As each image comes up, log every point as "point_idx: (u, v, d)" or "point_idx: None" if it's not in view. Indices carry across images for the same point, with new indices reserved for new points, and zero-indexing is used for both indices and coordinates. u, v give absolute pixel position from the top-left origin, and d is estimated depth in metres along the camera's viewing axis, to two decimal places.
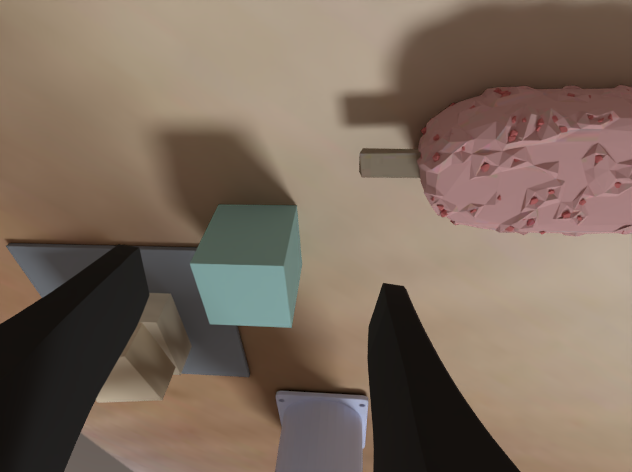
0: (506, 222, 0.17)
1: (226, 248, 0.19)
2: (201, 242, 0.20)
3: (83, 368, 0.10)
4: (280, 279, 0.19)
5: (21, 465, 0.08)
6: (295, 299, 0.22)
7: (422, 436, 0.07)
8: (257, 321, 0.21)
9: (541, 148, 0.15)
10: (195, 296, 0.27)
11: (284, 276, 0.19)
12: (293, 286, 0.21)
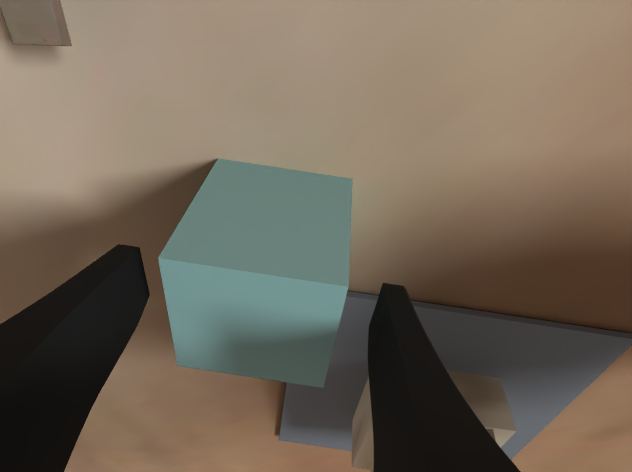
0: None
1: None
2: None
3: (83, 368, 0.10)
4: (195, 271, 0.09)
5: (21, 465, 0.08)
6: (341, 237, 0.11)
7: (422, 436, 0.07)
8: (321, 330, 0.10)
9: None
10: None
11: (188, 262, 0.09)
12: (295, 234, 0.10)
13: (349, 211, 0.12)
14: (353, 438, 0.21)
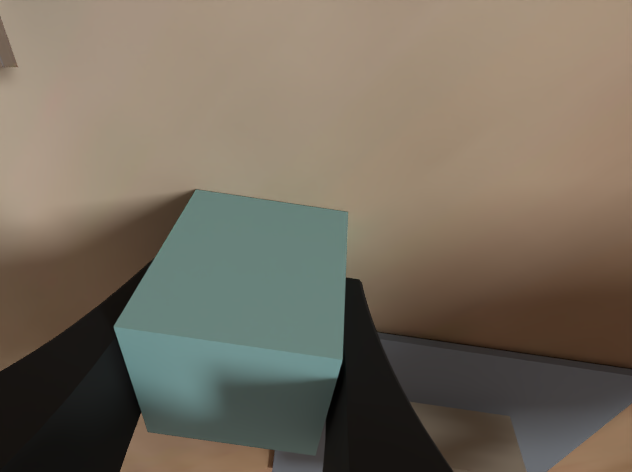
0: None
1: None
2: None
3: None
4: (159, 341, 0.08)
5: None
6: (334, 291, 0.09)
7: (351, 426, 0.07)
8: (311, 402, 0.09)
9: None
10: None
11: (150, 331, 0.08)
12: (281, 288, 0.09)
13: (344, 255, 0.10)
14: None
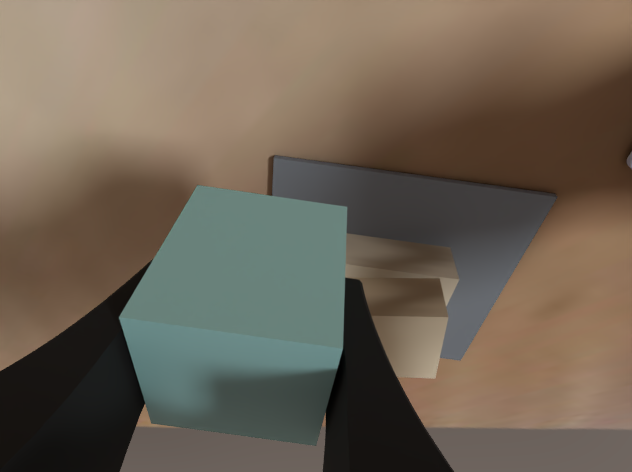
0: None
1: None
2: None
3: (135, 376, 0.10)
4: (163, 331, 0.08)
5: None
6: (334, 282, 0.09)
7: (351, 426, 0.07)
8: (312, 391, 0.09)
9: None
10: (352, 208, 0.21)
11: (154, 322, 0.08)
12: (282, 280, 0.09)
13: (343, 248, 0.10)
14: None
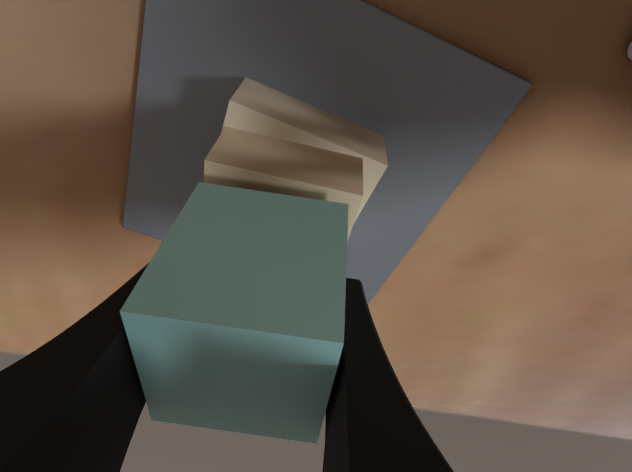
0: None
1: None
2: None
3: (135, 375, 0.10)
4: (164, 325, 0.08)
5: None
6: (336, 278, 0.09)
7: (351, 426, 0.07)
8: (312, 388, 0.09)
9: None
10: (264, 36, 0.14)
11: (155, 316, 0.08)
12: (283, 276, 0.09)
13: (345, 245, 0.10)
14: None
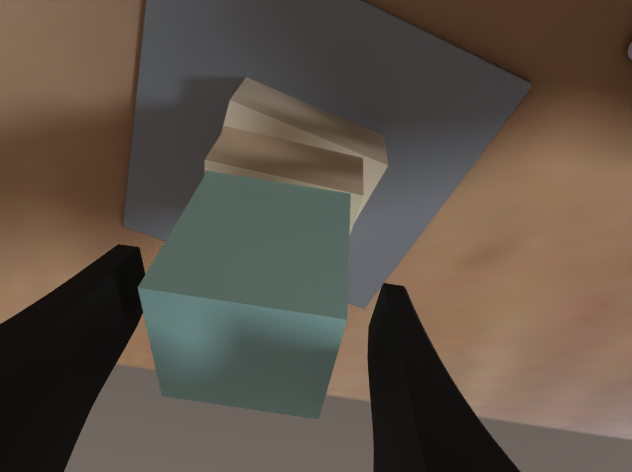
0: None
1: None
2: None
3: (83, 368, 0.10)
4: (179, 302, 0.09)
5: (21, 465, 0.08)
6: (339, 261, 0.10)
7: (422, 436, 0.07)
8: (316, 363, 0.10)
9: None
10: (264, 35, 0.14)
11: (171, 292, 0.08)
12: (289, 258, 0.10)
13: (347, 231, 0.11)
14: None
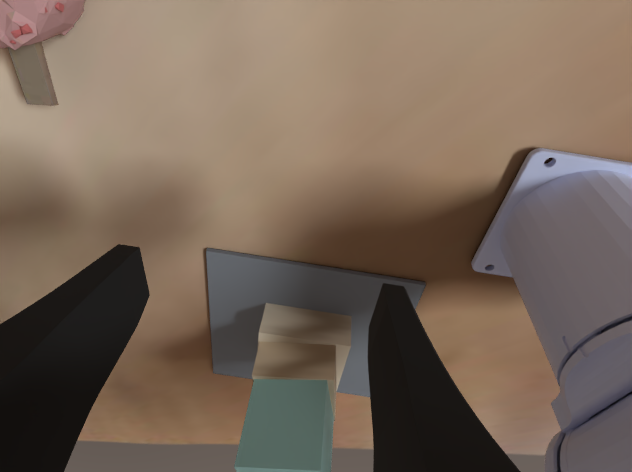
0: None
1: None
2: None
3: (83, 368, 0.10)
4: (251, 469, 0.20)
5: (21, 465, 0.08)
6: (318, 434, 0.21)
7: (422, 436, 0.07)
8: None
9: None
10: (270, 286, 0.26)
11: (247, 467, 0.20)
12: (295, 436, 0.21)
13: (323, 411, 0.22)
14: None
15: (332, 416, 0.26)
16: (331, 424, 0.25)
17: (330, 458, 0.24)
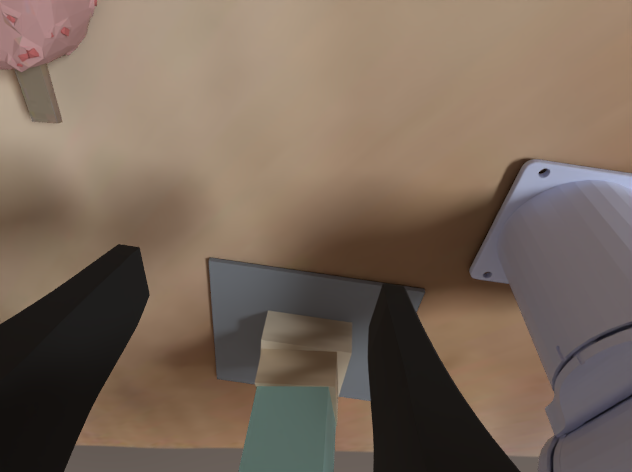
0: None
1: None
2: None
3: (83, 368, 0.10)
4: None
5: (21, 465, 0.08)
6: (320, 440, 0.22)
7: (422, 436, 0.07)
8: None
9: None
10: (272, 294, 0.27)
11: None
12: (298, 443, 0.22)
13: (325, 418, 0.23)
14: None
15: (334, 422, 0.26)
16: (333, 430, 0.25)
17: (332, 463, 0.24)
